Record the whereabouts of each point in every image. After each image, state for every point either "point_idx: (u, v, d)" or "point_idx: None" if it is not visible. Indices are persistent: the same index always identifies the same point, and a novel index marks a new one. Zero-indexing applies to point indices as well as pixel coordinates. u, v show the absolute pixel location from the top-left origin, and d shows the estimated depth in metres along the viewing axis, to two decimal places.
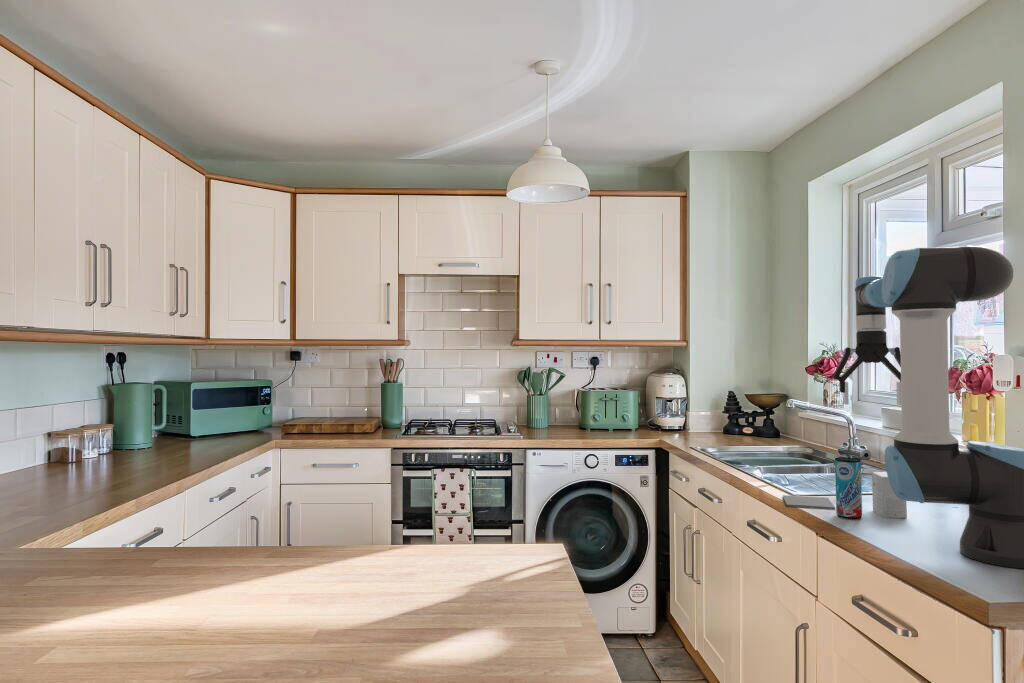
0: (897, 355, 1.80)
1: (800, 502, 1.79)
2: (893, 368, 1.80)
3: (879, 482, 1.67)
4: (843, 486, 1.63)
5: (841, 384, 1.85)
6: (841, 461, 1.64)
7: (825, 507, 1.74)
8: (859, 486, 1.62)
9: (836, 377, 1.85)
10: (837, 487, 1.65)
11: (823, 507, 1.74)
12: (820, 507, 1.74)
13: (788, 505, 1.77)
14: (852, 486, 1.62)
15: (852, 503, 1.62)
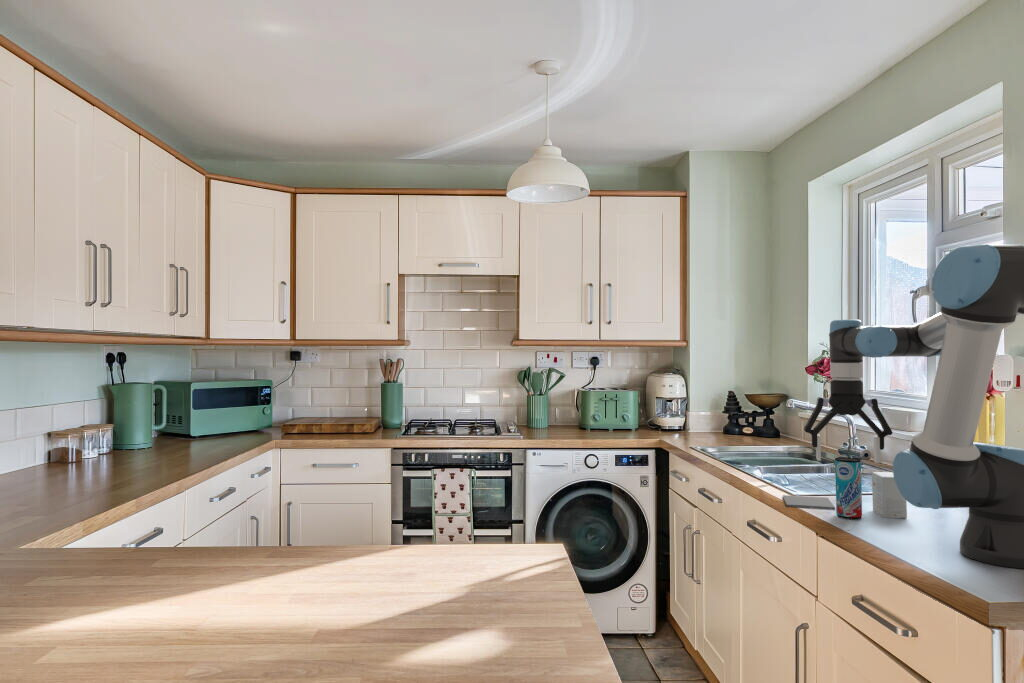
0: (874, 407, 1.62)
1: (800, 502, 1.79)
2: (870, 422, 1.63)
3: (879, 482, 1.67)
4: (843, 486, 1.63)
5: (813, 438, 1.67)
6: (841, 461, 1.64)
7: (825, 507, 1.74)
8: (859, 486, 1.62)
9: (808, 430, 1.67)
10: (837, 487, 1.65)
11: (823, 507, 1.74)
12: (820, 507, 1.74)
13: (788, 505, 1.77)
14: (852, 486, 1.62)
15: (852, 503, 1.62)
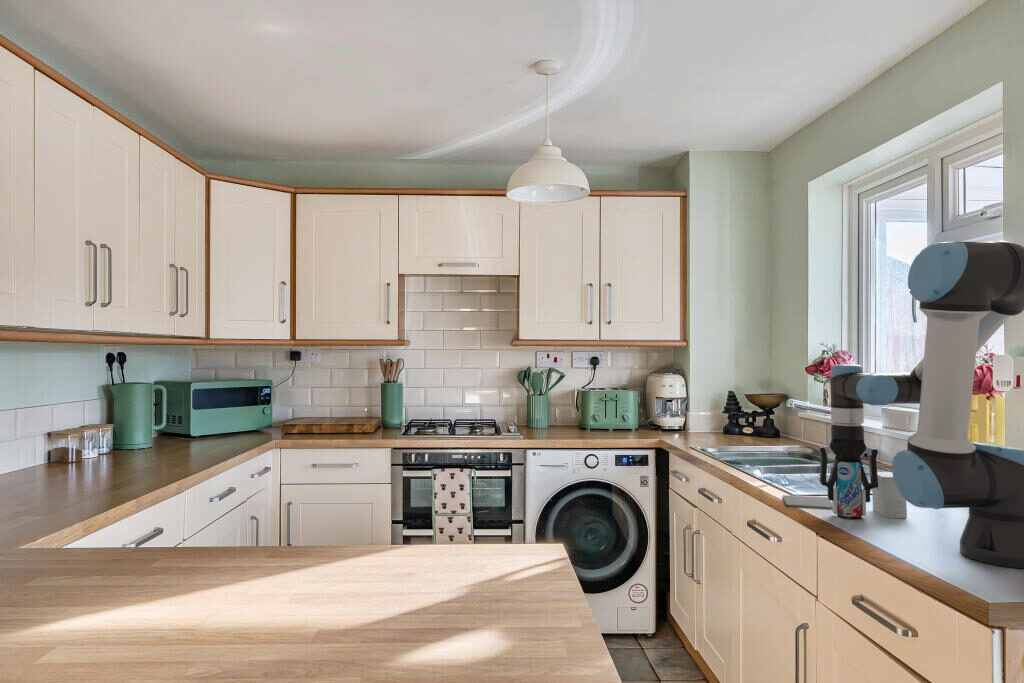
0: (872, 458, 1.62)
1: (800, 502, 1.79)
2: (862, 472, 1.63)
3: (879, 482, 1.67)
4: (843, 486, 1.63)
5: (829, 491, 1.66)
6: (841, 461, 1.64)
7: (825, 507, 1.74)
8: (859, 486, 1.62)
9: (824, 483, 1.66)
10: (837, 487, 1.65)
11: (823, 507, 1.74)
12: (820, 507, 1.74)
13: (788, 505, 1.77)
14: (852, 486, 1.62)
15: (852, 503, 1.62)
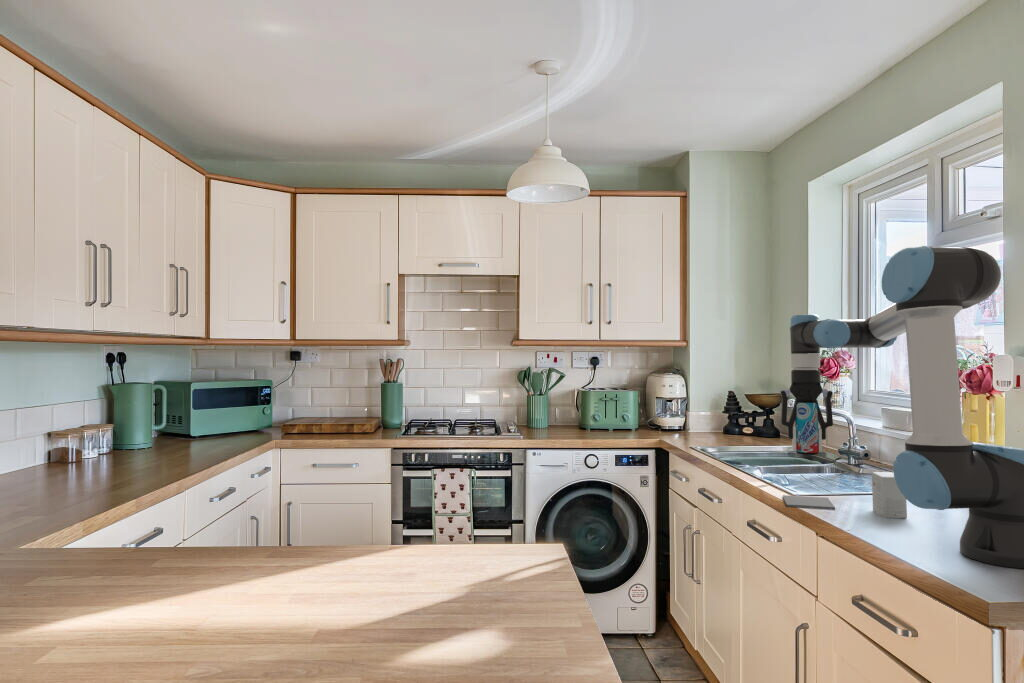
0: (827, 399, 1.78)
1: (800, 502, 1.79)
2: (819, 412, 1.79)
3: (879, 482, 1.67)
4: (801, 425, 1.79)
5: (789, 430, 1.82)
6: (800, 402, 1.80)
7: (825, 507, 1.74)
8: (816, 424, 1.78)
9: (784, 423, 1.81)
10: (796, 426, 1.81)
11: (823, 507, 1.74)
12: (820, 507, 1.74)
13: (788, 505, 1.77)
14: (809, 425, 1.78)
15: (809, 439, 1.78)
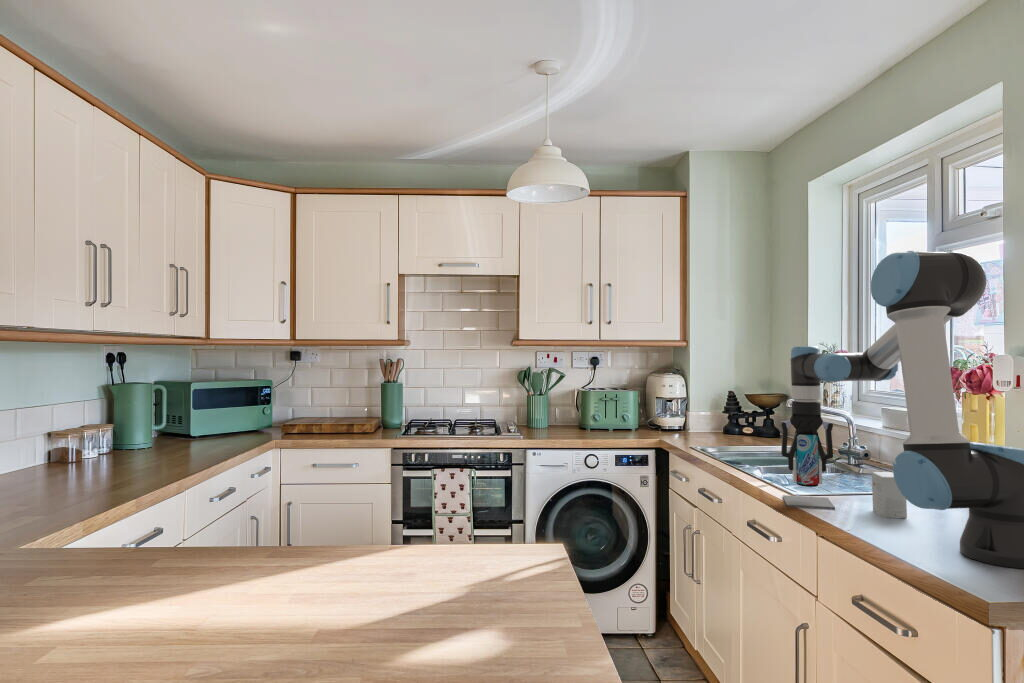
0: (828, 431, 1.78)
1: (800, 502, 1.79)
2: (819, 444, 1.79)
3: (879, 482, 1.67)
4: (801, 457, 1.79)
5: (789, 461, 1.81)
6: (800, 434, 1.79)
7: (825, 507, 1.74)
8: (816, 456, 1.78)
9: (784, 454, 1.81)
10: (796, 458, 1.81)
11: (823, 507, 1.74)
12: (820, 507, 1.74)
13: (788, 505, 1.77)
14: (810, 457, 1.78)
15: (809, 471, 1.78)
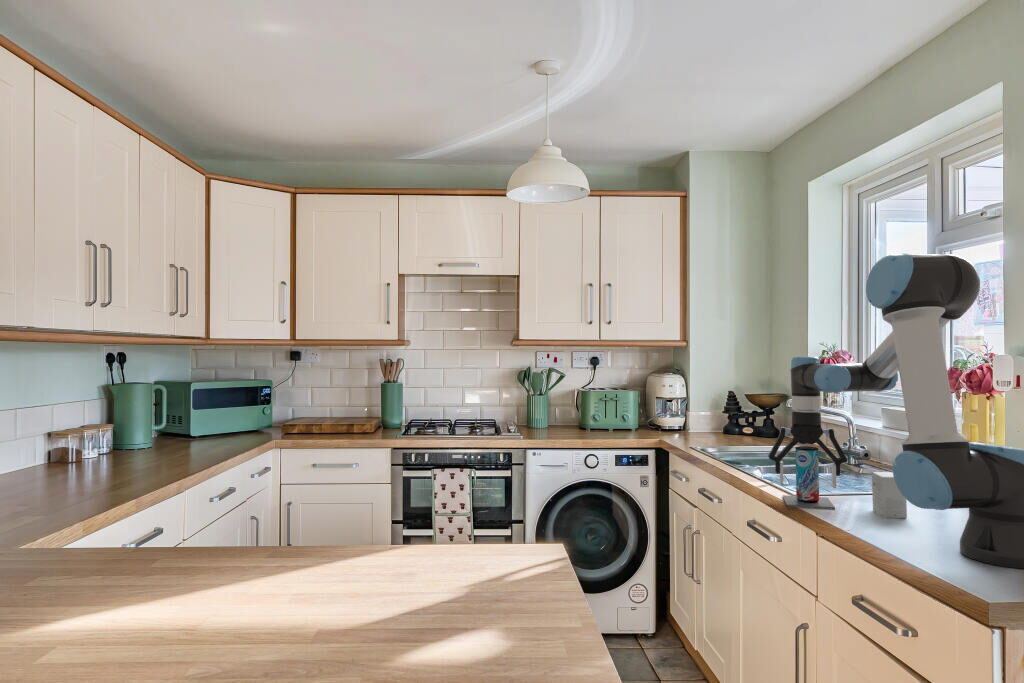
0: (831, 437, 1.78)
1: (800, 502, 1.79)
2: (827, 450, 1.78)
3: (879, 482, 1.67)
4: (802, 472, 1.79)
5: (776, 464, 1.82)
6: (800, 449, 1.79)
7: (825, 507, 1.74)
8: (816, 472, 1.78)
9: (771, 457, 1.82)
10: (797, 473, 1.81)
11: (823, 507, 1.74)
12: (820, 507, 1.74)
13: (788, 505, 1.77)
14: (810, 472, 1.78)
15: (809, 487, 1.78)
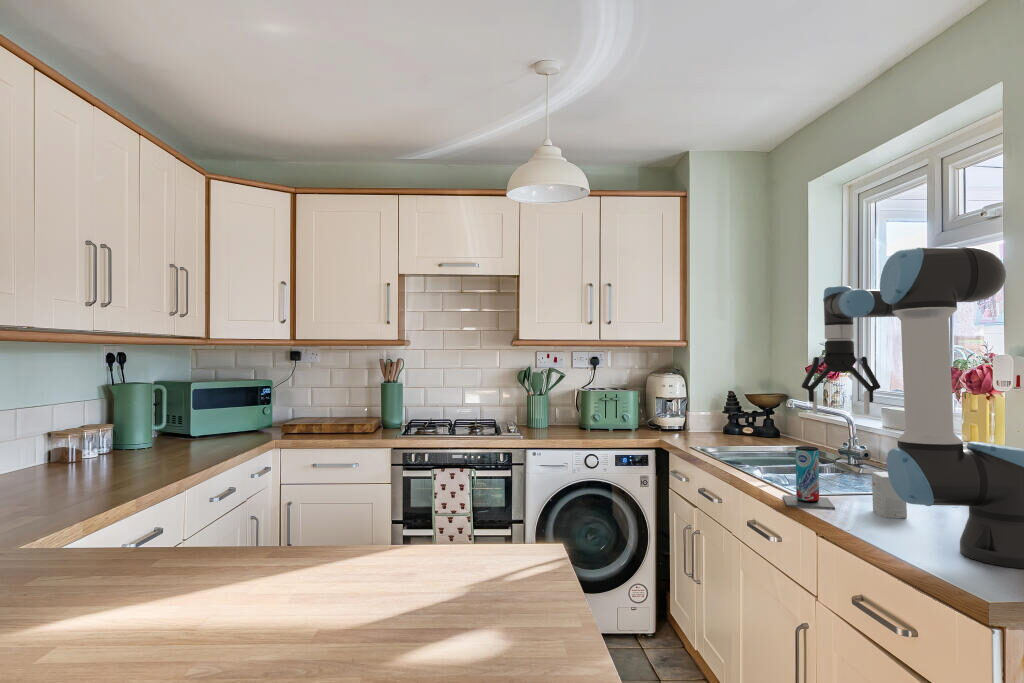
0: (864, 365, 1.81)
1: (800, 502, 1.79)
2: (860, 377, 1.82)
3: (879, 482, 1.67)
4: (802, 472, 1.79)
5: (810, 393, 1.86)
6: (800, 449, 1.79)
7: (825, 507, 1.74)
8: (816, 472, 1.78)
9: (805, 386, 1.86)
10: (797, 473, 1.80)
11: (823, 507, 1.74)
12: (820, 507, 1.74)
13: (788, 505, 1.77)
14: (810, 473, 1.78)
15: (809, 487, 1.78)
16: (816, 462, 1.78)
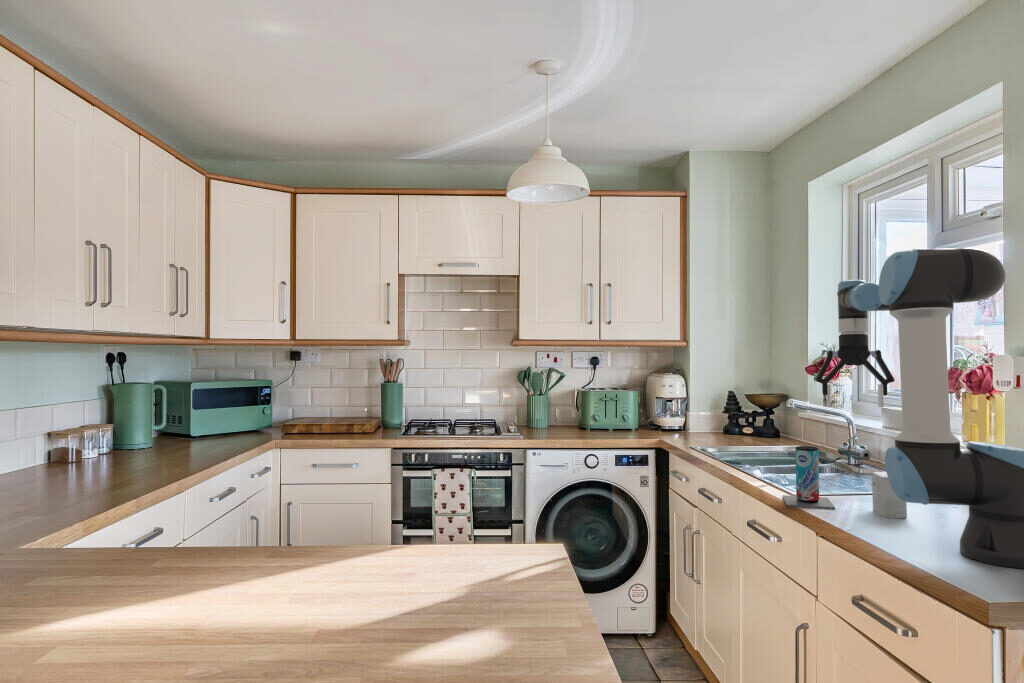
0: (878, 358, 1.83)
1: (800, 502, 1.79)
2: (874, 371, 1.83)
3: (879, 482, 1.67)
4: (802, 472, 1.79)
5: (824, 386, 1.87)
6: (800, 449, 1.79)
7: (825, 507, 1.74)
8: (816, 472, 1.78)
9: (819, 380, 1.87)
10: (797, 473, 1.80)
11: (823, 507, 1.74)
12: (820, 507, 1.74)
13: (788, 505, 1.77)
14: (810, 473, 1.78)
15: (809, 487, 1.78)
16: (816, 462, 1.78)
